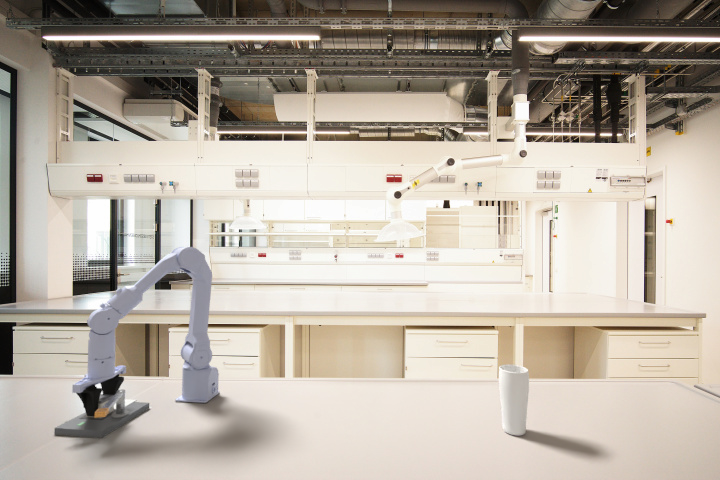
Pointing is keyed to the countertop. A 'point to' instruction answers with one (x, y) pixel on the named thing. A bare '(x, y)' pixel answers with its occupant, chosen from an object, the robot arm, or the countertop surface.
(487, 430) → the countertop surface
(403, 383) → the countertop surface
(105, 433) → the grey flat board
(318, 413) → the countertop surface
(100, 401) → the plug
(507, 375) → the drinking glass
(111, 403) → the orange-tipped grey rod
